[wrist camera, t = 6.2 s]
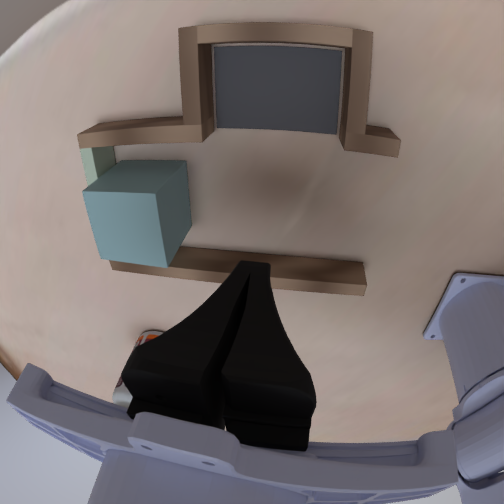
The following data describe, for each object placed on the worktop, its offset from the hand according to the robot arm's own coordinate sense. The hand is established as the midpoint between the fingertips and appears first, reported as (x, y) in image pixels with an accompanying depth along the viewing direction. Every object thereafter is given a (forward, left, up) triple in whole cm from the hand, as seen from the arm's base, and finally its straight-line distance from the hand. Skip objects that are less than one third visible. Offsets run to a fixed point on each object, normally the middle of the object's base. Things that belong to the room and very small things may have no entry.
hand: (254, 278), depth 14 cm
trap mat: (0, -7, -8) cm, 11 cm away
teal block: (+8, 0, -8) cm, 11 cm away
